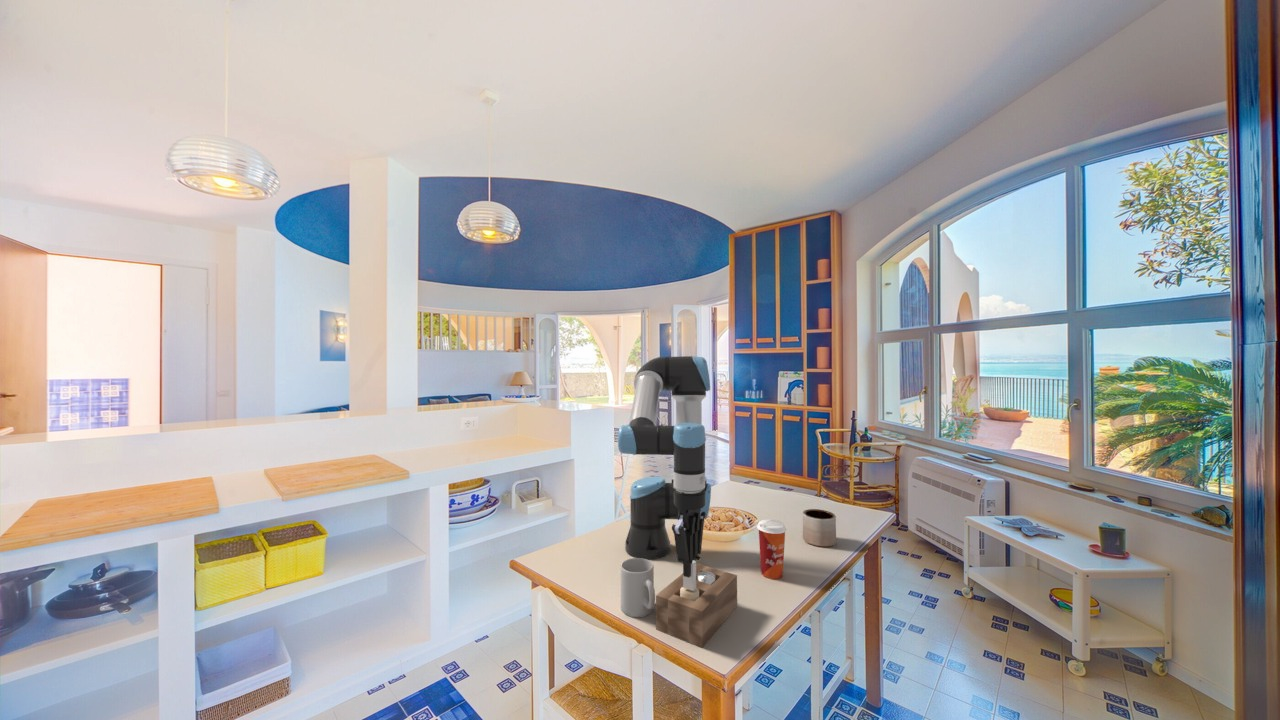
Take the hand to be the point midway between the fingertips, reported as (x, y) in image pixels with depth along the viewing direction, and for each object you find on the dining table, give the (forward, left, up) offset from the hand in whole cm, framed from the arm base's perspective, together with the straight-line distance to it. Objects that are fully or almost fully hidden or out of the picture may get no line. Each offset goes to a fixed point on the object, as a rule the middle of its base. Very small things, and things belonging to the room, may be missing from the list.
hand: (689, 587), depth 105 cm
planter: (+14, +69, -9) cm, 71 cm away
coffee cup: (+8, +36, -9) cm, 38 cm away
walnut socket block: (0, +4, -9) cm, 10 cm away
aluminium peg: (0, +9, -9) cm, 12 cm away
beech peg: (0, 0, -9) cm, 9 cm away
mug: (-13, -1, -9) cm, 16 cm away
